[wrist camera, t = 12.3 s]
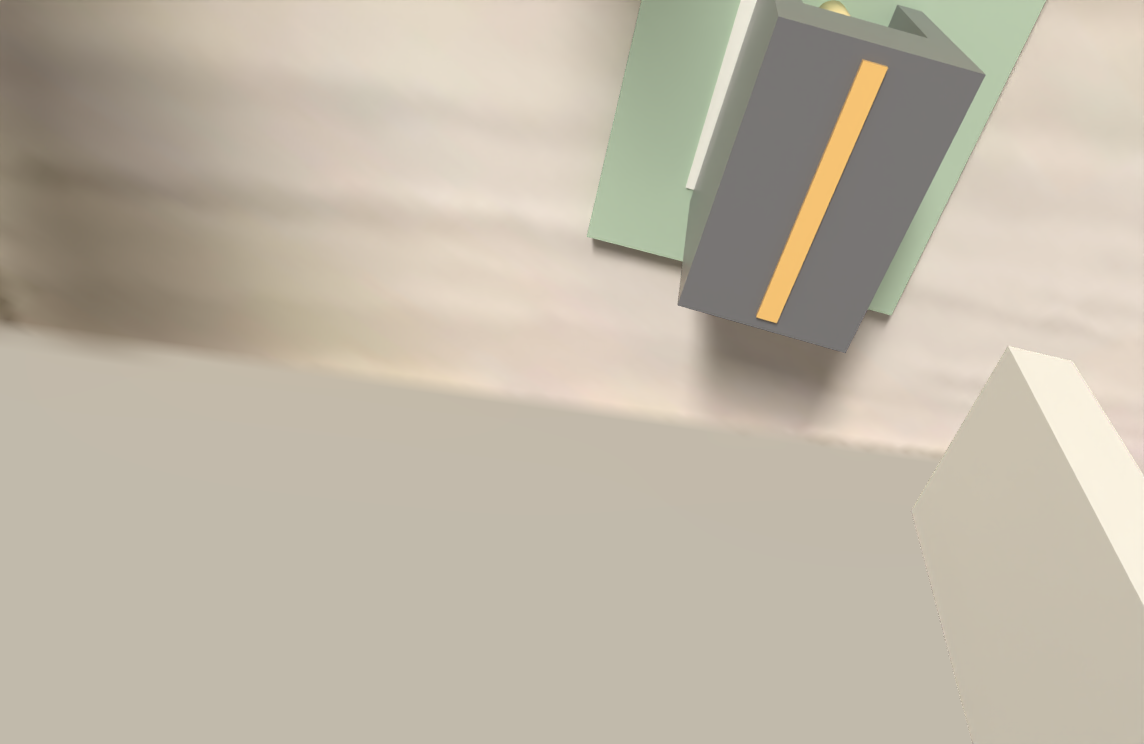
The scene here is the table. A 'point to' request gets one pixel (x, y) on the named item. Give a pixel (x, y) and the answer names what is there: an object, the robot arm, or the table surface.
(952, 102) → the plug housing
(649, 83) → the board
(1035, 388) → the robot arm
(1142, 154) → the table surface
